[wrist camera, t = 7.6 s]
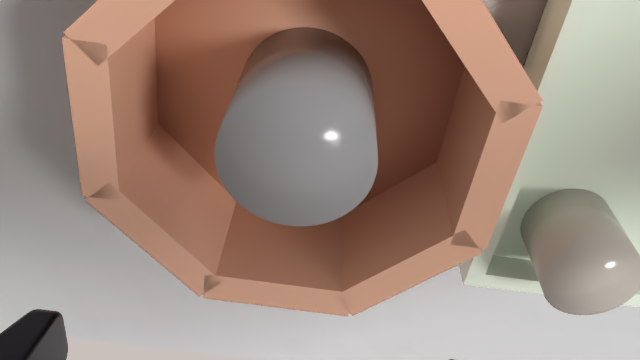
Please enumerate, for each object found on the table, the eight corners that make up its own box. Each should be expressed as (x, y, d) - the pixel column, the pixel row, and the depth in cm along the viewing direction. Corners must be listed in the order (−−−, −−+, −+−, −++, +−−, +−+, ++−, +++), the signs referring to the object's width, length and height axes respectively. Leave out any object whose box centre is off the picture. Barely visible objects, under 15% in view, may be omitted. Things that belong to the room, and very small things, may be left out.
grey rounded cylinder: (384, 38, 16) (393, 100, 13) (360, 156, 18) (362, 235, 15) (244, 17, 16) (217, 76, 13) (237, 138, 18) (212, 215, 15)
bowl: (541, -82, 15) (601, -43, 11) (436, 239, 21) (454, 329, 17) (116, -148, 14) (40, -128, 11) (137, 199, 21) (93, 284, 17)
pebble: (625, 194, 19) (663, 250, 17) (589, 261, 21) (620, 320, 18) (537, 182, 19) (564, 237, 16) (508, 250, 20) (529, 308, 18)
